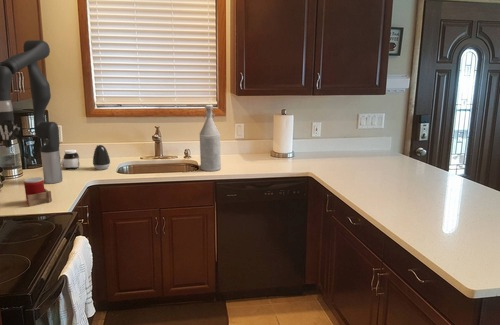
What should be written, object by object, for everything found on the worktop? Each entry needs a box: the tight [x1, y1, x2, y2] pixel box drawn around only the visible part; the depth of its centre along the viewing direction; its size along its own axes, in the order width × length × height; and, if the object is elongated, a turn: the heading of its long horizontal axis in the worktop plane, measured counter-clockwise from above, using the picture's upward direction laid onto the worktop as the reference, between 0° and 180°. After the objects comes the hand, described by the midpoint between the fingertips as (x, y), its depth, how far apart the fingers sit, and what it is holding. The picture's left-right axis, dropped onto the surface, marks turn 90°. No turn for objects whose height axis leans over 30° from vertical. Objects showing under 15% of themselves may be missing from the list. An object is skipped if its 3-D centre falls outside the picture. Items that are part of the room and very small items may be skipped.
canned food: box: [23, 176, 45, 204], centre depth 192 cm, size 8×8×11 cm
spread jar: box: [60, 149, 81, 170], centre depth 259 cm, size 12×11×12 cm
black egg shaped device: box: [92, 144, 111, 171], centre depth 256 cm, size 10×10×15 cm
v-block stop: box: [27, 187, 53, 207], centre depth 193 cm, size 13×7×5 cm, turn 179°
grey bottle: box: [199, 104, 222, 172], centre depth 254 cm, size 13×17×40 cm
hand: (8, 147), depth 194 cm, fingers closed
